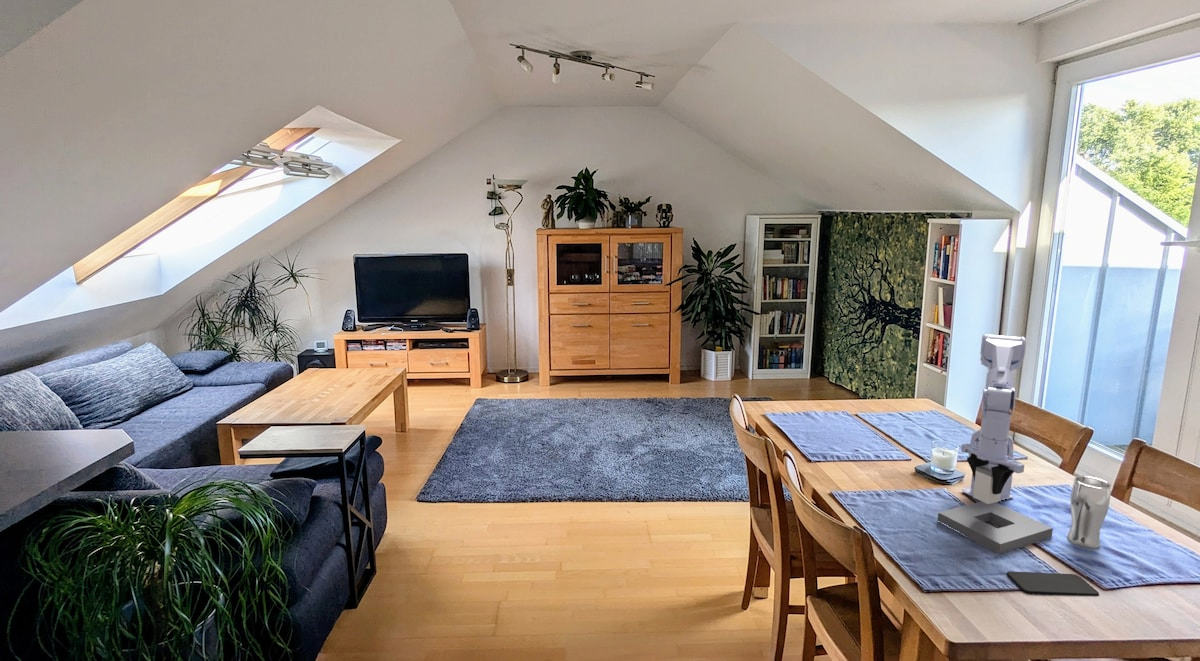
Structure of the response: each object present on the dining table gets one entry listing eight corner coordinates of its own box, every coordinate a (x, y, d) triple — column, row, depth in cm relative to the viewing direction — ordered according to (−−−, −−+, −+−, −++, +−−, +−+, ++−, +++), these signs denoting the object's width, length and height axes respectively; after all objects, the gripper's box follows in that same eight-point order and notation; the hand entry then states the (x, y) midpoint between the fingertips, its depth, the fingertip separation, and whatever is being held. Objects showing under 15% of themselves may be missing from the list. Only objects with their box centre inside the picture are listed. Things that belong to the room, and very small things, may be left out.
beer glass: (1095, 536, 146) (1104, 477, 143) (1107, 551, 140) (1117, 490, 137) (1060, 532, 149) (1068, 473, 146) (1071, 546, 142) (1080, 486, 139)
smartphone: (1102, 594, 124) (1025, 591, 125) (1101, 599, 124) (1024, 595, 125) (1076, 573, 131) (1004, 570, 132) (1076, 577, 131) (1003, 574, 132)
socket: (987, 508, 161) (988, 499, 160) (1051, 537, 146) (1052, 528, 146) (937, 521, 154) (938, 512, 154) (999, 554, 139) (1000, 544, 139)
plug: (984, 494, 153) (987, 464, 152) (999, 501, 150) (1003, 470, 148) (972, 497, 152) (976, 466, 150) (988, 504, 148) (991, 473, 147)
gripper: (954, 429, 153) (949, 480, 156) (1012, 449, 140) (1005, 505, 142) (975, 425, 155) (969, 475, 158) (1033, 445, 142) (1025, 499, 145)
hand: (987, 489), depth 150 cm, fingers closed on plug, 4 cm apart
